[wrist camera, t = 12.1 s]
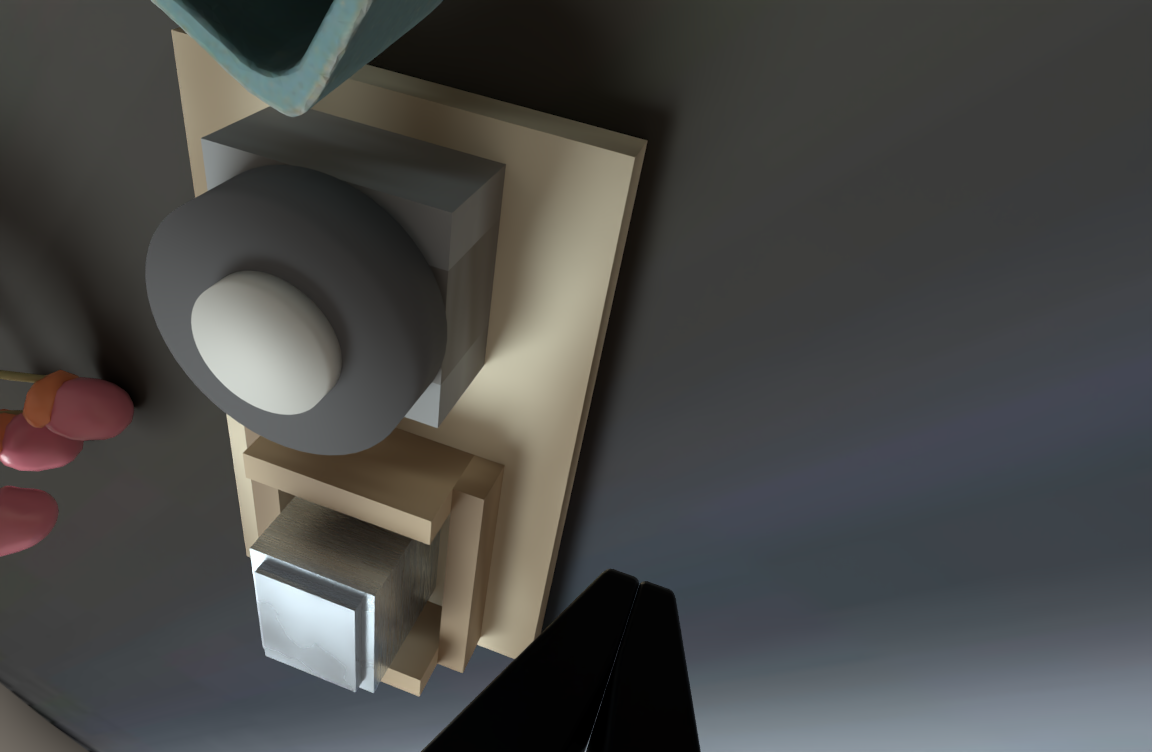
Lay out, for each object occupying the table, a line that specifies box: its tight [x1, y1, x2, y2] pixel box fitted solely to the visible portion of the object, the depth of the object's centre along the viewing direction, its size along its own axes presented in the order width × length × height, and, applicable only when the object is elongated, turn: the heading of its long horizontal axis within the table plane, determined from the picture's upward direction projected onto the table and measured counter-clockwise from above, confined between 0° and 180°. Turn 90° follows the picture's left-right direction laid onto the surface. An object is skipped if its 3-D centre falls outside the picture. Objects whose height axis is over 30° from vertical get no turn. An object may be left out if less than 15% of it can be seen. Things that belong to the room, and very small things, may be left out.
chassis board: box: [171, 27, 647, 697], centre depth 24 cm, size 12×20×4 cm, turn 170°
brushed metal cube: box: [250, 496, 441, 693], centre depth 26 cm, size 4×5×5 cm
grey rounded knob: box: [146, 165, 447, 455], centre depth 19 cm, size 6×6×5 cm
